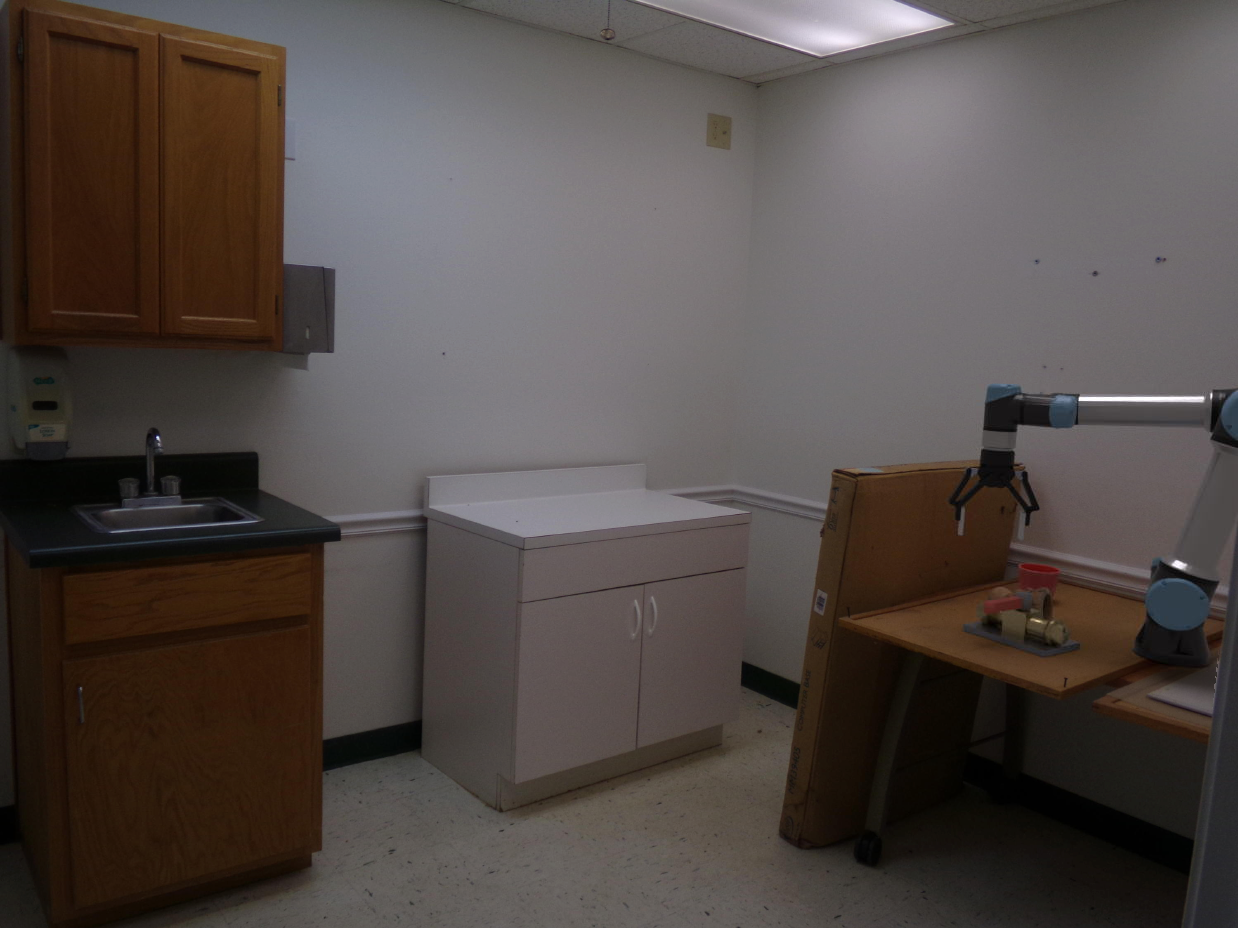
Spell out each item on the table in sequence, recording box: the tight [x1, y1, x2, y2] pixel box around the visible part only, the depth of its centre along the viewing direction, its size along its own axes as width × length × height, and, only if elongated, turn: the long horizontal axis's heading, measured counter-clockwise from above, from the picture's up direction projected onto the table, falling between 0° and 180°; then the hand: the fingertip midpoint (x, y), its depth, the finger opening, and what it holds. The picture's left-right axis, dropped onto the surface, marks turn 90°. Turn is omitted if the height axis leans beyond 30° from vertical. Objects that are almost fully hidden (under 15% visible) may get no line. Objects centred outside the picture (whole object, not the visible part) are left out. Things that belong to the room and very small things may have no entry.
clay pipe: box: [987, 586, 1054, 621], centre depth 235 cm, size 19×11×15 cm
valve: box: [962, 599, 1081, 658], centre depth 220 cm, size 22×14×8 cm, turn 32°
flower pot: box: [1018, 563, 1061, 598], centre depth 256 cm, size 11×11×10 cm
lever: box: [983, 591, 1032, 614], centre depth 215 cm, size 4×16×4 cm, turn 122°
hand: (990, 536), depth 218 cm, fingers open, 13 cm apart
